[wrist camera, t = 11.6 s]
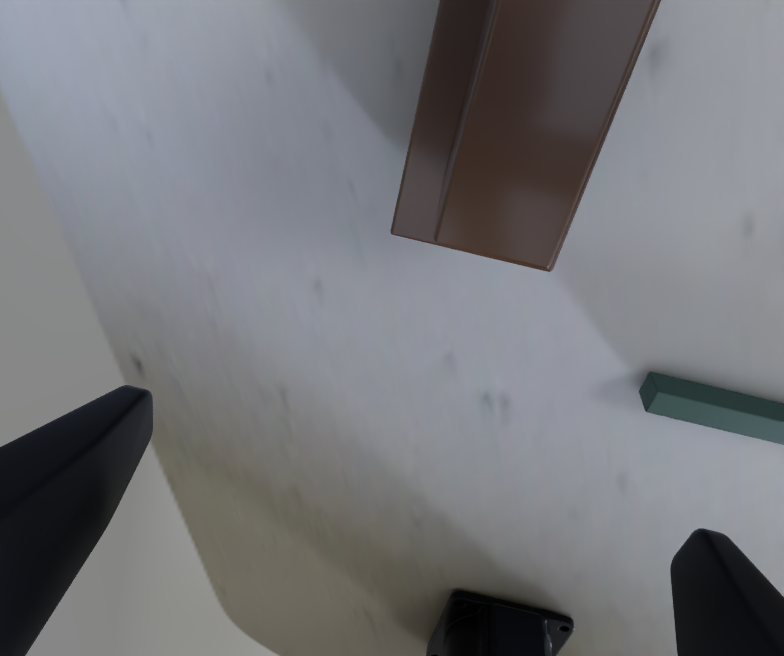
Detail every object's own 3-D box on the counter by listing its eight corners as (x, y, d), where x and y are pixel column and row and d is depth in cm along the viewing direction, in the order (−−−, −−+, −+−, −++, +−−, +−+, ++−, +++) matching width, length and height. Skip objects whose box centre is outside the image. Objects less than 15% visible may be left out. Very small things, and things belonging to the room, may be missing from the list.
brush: (539, 214, 19) (567, 350, 13) (405, 182, 19) (368, 303, 13) (656, -105, 14) (791, -137, 8) (478, -148, 14) (474, -213, 8)
